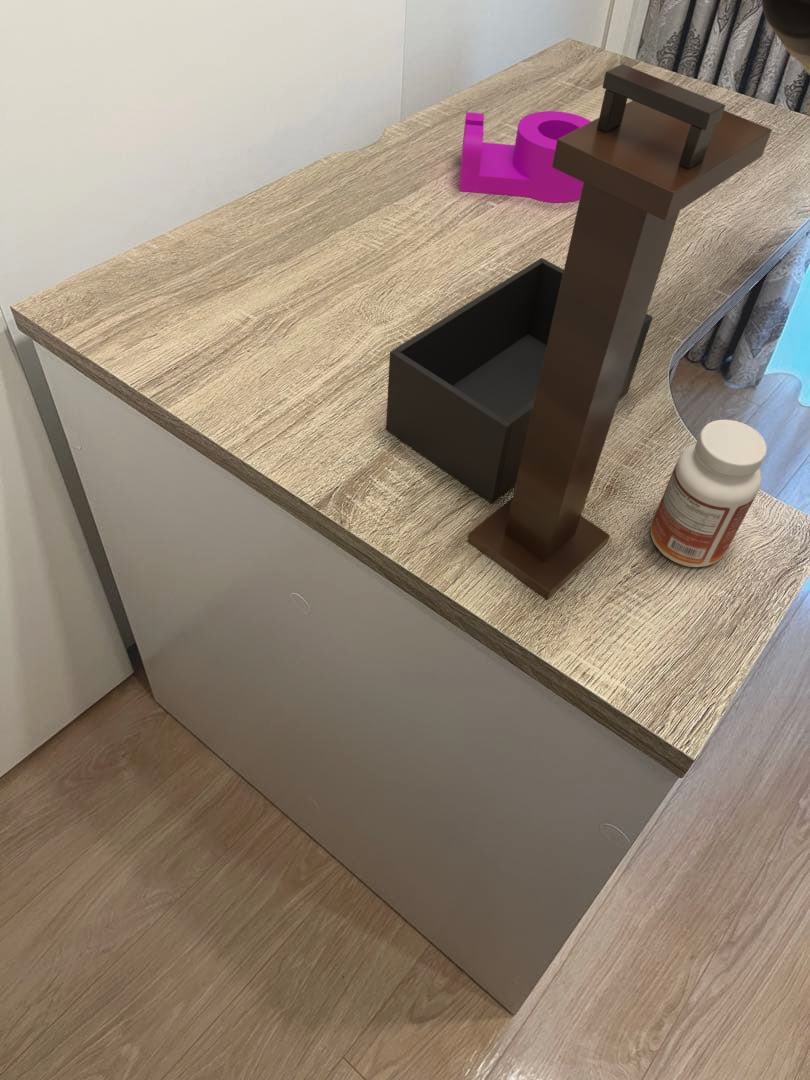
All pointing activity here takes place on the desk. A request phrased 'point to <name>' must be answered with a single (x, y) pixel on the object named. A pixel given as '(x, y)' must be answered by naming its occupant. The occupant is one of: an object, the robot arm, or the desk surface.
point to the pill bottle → (709, 494)
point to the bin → (480, 380)
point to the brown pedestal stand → (606, 303)
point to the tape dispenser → (520, 159)
